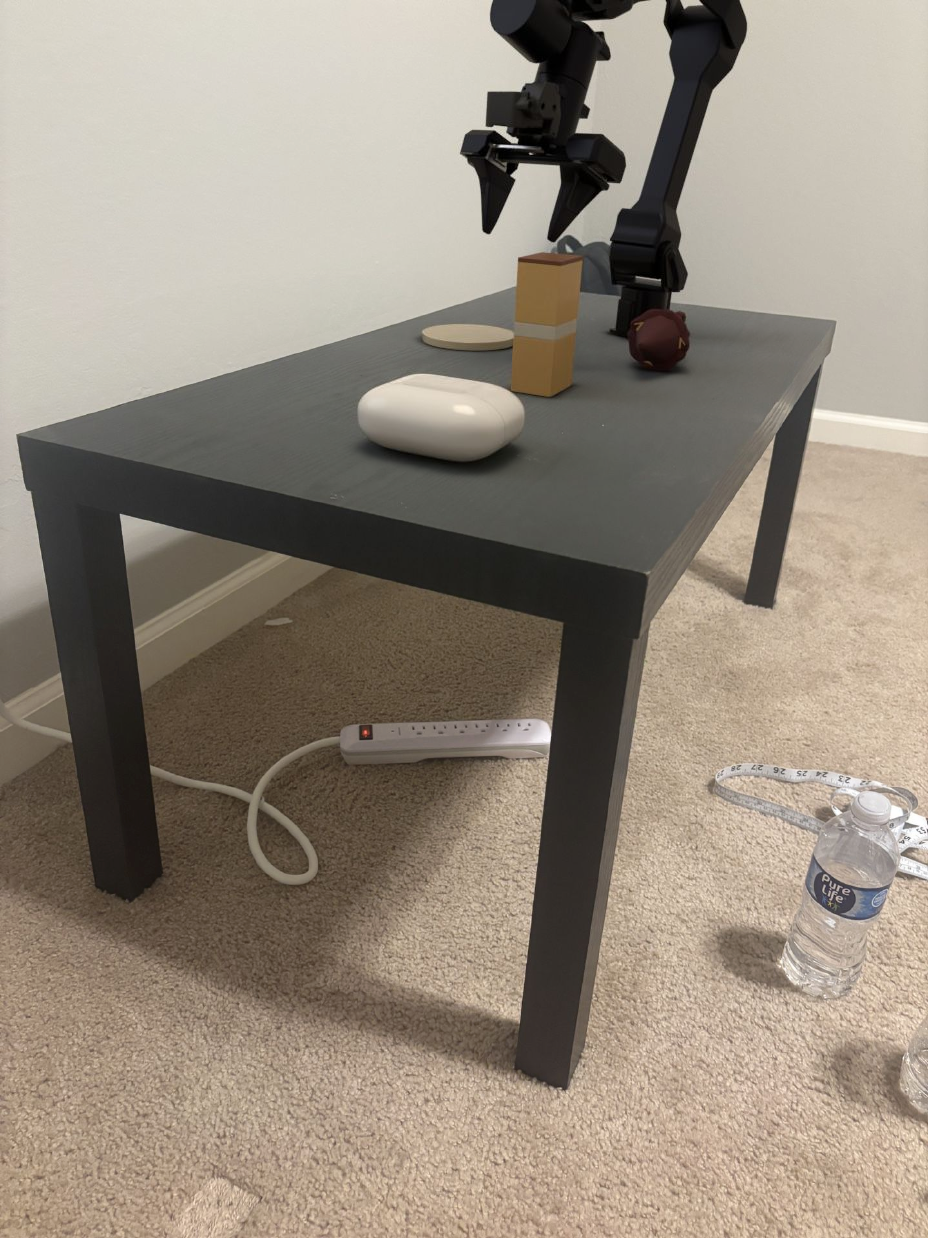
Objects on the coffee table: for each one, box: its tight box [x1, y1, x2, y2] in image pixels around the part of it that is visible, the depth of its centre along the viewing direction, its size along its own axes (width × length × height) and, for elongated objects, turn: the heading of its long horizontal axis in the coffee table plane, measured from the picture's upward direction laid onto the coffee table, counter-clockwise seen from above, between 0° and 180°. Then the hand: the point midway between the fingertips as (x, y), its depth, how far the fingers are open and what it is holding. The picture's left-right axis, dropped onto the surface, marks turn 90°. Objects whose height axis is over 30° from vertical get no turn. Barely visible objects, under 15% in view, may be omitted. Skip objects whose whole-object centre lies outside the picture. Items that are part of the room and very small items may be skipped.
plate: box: [421, 323, 514, 352], centre depth 116 cm, size 12×12×1 cm
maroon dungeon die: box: [627, 309, 691, 372], centre depth 104 cm, size 7×7×15 cm
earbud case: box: [356, 373, 526, 463], centre depth 75 cm, size 10×13×5 cm
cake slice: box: [510, 251, 584, 398], centre depth 92 cm, size 6×4×13 cm
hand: (517, 236), depth 98 cm, fingers open, 9 cm apart
